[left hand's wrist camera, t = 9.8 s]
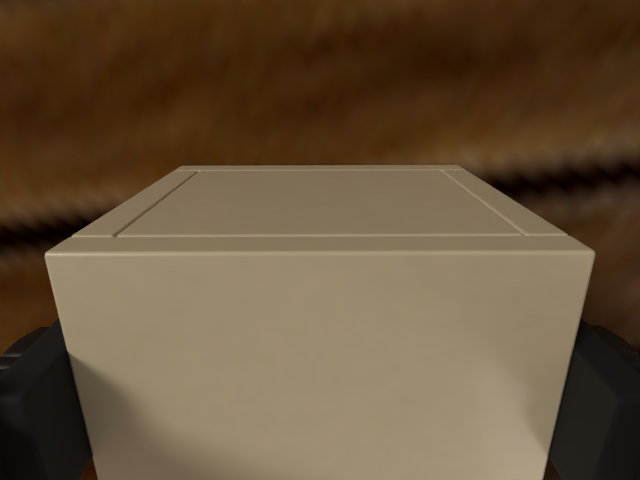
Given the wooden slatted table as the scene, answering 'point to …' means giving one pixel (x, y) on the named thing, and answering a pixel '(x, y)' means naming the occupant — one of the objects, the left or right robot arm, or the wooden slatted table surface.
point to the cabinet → (320, 326)
